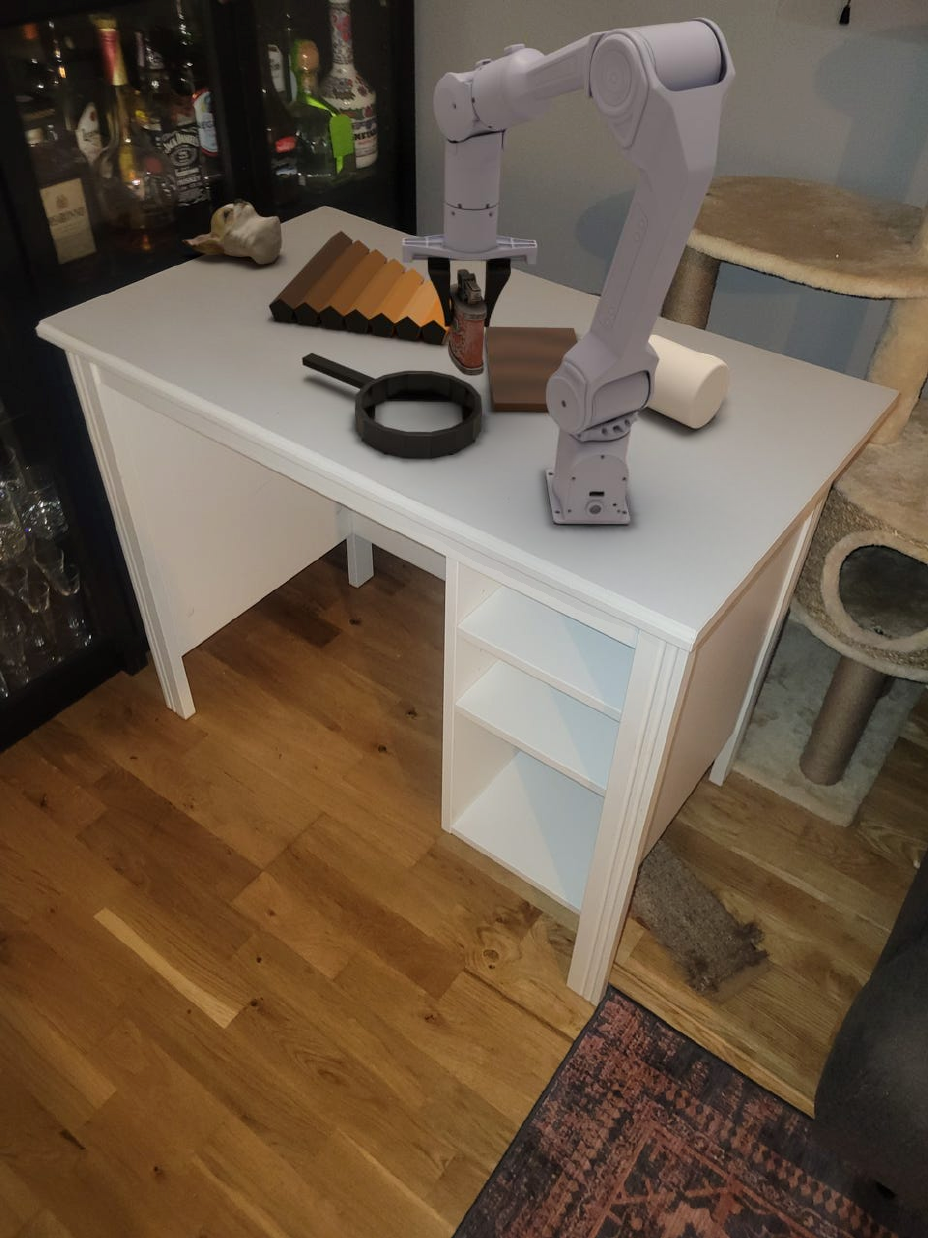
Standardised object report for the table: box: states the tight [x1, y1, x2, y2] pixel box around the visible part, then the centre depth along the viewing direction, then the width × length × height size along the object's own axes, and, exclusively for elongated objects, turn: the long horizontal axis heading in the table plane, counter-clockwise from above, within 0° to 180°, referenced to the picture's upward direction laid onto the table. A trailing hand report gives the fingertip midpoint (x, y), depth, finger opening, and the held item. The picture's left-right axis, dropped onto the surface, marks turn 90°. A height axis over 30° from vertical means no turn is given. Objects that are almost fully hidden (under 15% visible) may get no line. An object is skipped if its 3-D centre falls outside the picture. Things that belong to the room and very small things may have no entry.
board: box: [484, 326, 579, 413], centre depth 122 cm, size 20×12×1 cm, turn 2°
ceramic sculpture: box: [182, 198, 283, 265], centre depth 143 cm, size 11×9×15 cm
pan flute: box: [268, 230, 451, 346], centre depth 136 cm, size 25×3×25 cm
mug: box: [646, 334, 731, 429], centre depth 115 cm, size 12×10×8 cm
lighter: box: [447, 268, 487, 377], centre depth 108 cm, size 8×3×10 cm, turn 16°
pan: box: [301, 352, 483, 459], centre depth 112 cm, size 19×22×3 cm
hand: (466, 322), depth 109 cm, fingers closed on lighter, 4 cm apart
